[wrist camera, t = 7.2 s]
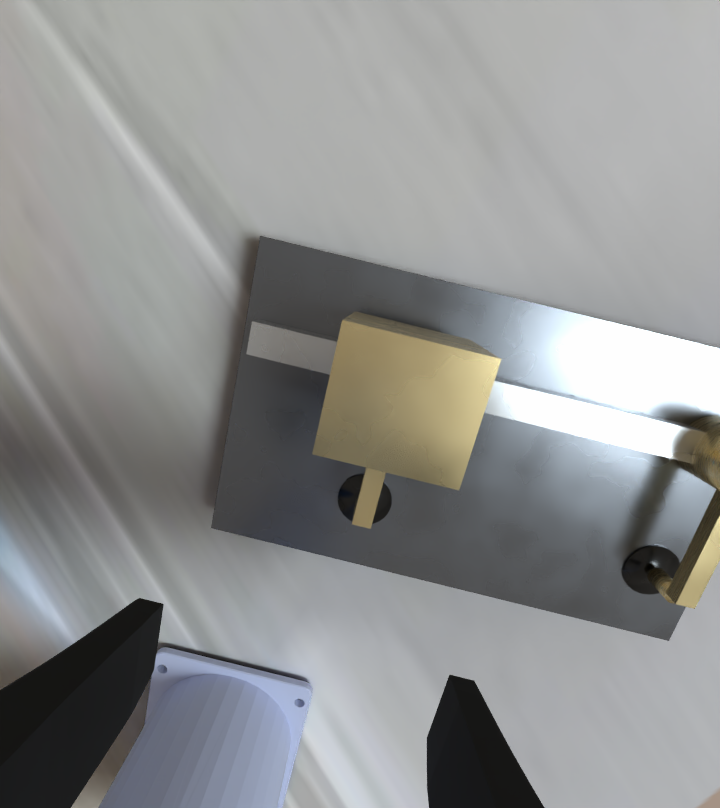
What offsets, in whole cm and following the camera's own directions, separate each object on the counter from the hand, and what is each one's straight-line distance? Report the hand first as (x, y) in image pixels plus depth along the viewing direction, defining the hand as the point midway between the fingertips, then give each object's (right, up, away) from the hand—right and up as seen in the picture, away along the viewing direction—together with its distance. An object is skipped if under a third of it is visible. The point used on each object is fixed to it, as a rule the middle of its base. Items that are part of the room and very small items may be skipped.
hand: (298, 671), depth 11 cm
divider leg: (+2, +6, +6) cm, 9 cm away
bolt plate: (+6, +5, +8) cm, 11 cm away
